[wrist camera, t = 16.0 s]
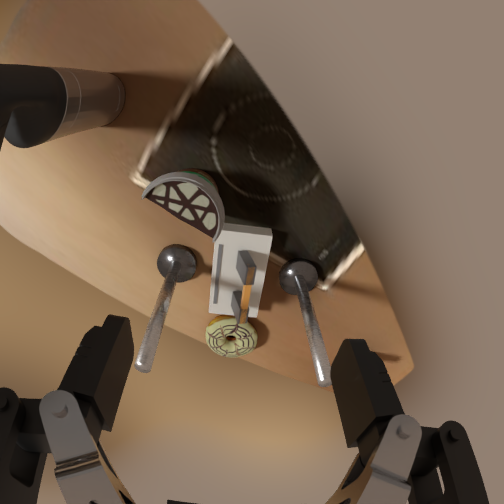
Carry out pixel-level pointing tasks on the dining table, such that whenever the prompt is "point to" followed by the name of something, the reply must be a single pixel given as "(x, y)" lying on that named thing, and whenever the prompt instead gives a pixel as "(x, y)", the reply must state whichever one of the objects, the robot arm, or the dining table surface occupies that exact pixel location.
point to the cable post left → (165, 298)
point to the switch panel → (225, 266)
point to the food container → (190, 199)
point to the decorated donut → (230, 345)
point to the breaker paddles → (247, 276)
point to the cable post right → (307, 311)
